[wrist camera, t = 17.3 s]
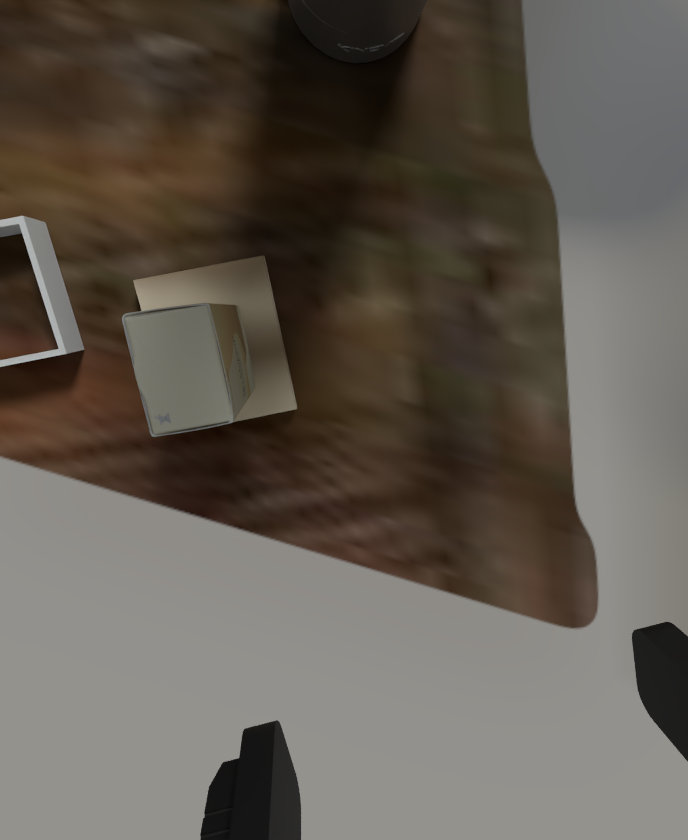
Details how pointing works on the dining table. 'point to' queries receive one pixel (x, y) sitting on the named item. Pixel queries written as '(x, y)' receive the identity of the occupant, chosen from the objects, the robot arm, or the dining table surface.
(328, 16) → the robot arm
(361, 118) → the dining table surface
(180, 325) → the skincare box
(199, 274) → the birch board
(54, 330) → the gray square frame
